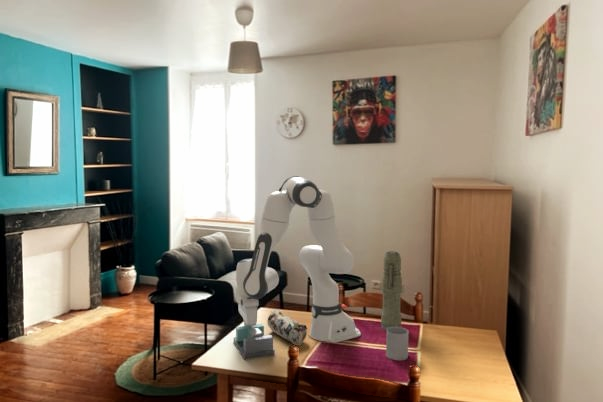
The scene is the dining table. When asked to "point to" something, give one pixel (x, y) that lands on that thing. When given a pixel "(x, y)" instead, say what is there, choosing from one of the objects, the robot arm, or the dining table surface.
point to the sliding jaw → (243, 331)
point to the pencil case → (287, 327)
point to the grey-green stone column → (391, 291)
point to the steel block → (254, 332)
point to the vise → (255, 347)
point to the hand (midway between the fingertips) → (247, 328)
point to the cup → (397, 343)
